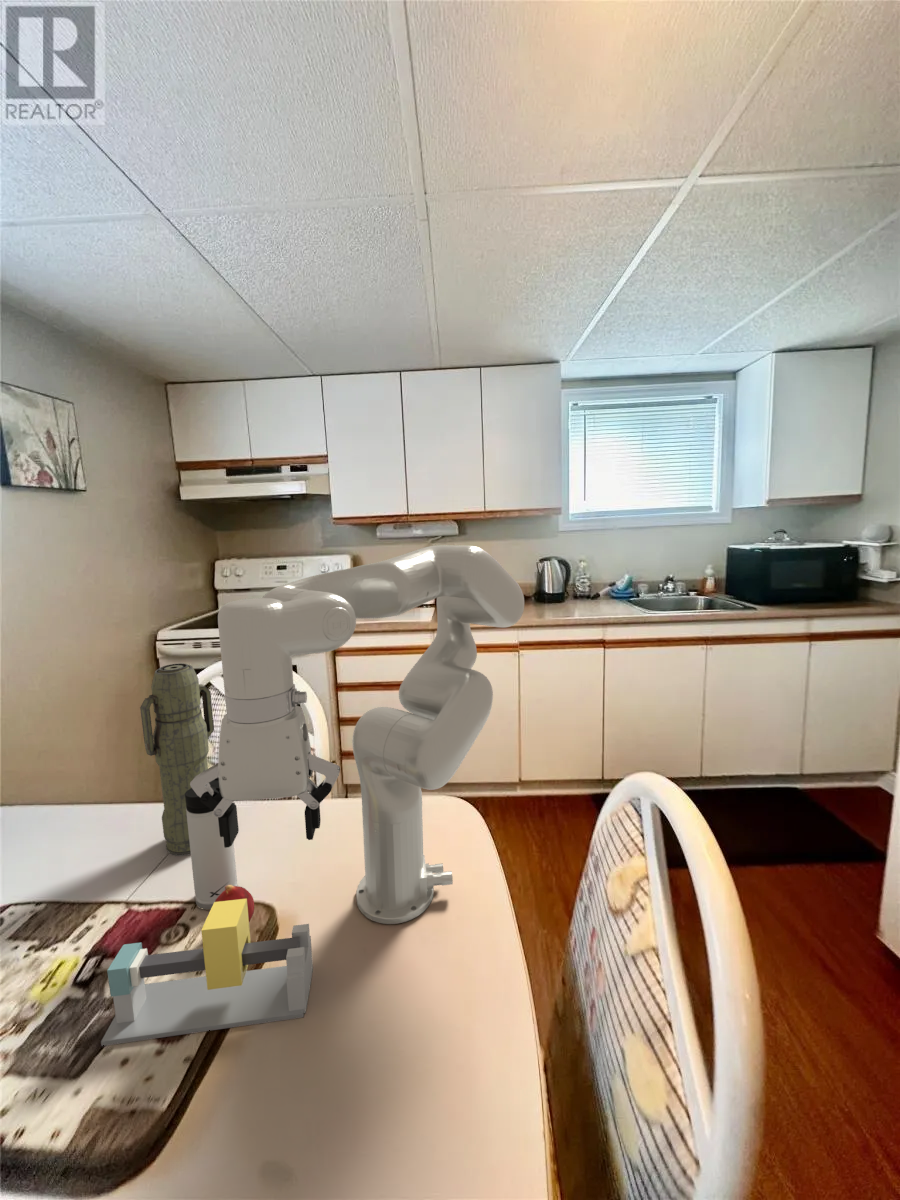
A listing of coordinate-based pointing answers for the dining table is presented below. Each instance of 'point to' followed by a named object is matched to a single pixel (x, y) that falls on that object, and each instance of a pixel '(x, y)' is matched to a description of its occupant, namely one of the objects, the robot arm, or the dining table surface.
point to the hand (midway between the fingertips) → (272, 836)
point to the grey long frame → (189, 1000)
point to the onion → (237, 897)
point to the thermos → (177, 743)
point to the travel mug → (208, 851)
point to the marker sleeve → (225, 943)
